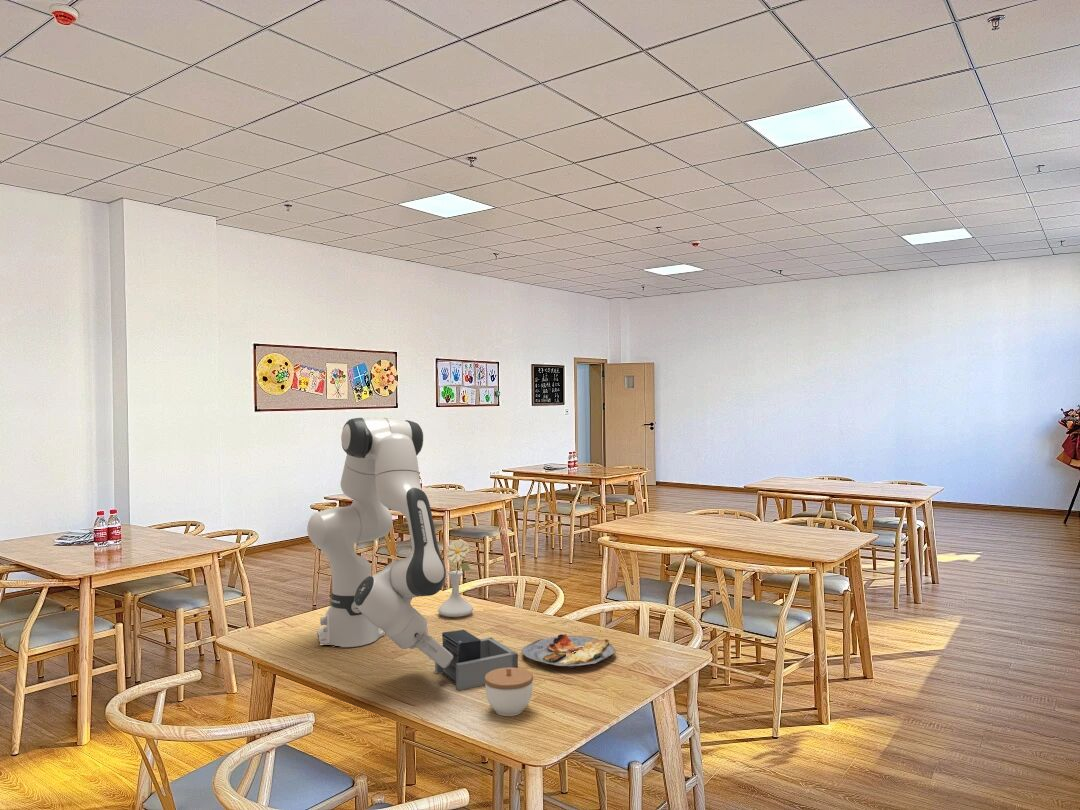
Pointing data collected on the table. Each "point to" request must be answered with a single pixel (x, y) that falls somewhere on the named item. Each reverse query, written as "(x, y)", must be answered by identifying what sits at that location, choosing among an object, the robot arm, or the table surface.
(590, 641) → the food plate
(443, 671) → the small box
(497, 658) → the box
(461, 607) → the flower in vase
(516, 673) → the lidded jar
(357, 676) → the table surface
